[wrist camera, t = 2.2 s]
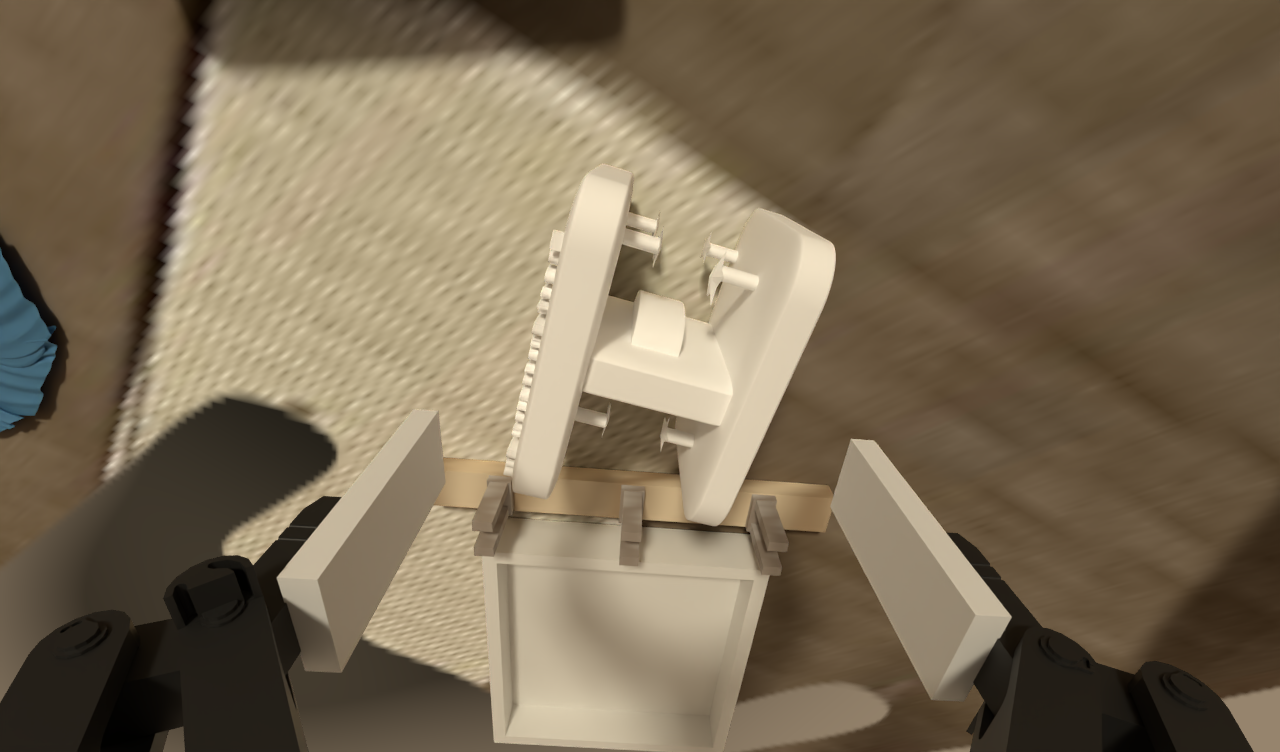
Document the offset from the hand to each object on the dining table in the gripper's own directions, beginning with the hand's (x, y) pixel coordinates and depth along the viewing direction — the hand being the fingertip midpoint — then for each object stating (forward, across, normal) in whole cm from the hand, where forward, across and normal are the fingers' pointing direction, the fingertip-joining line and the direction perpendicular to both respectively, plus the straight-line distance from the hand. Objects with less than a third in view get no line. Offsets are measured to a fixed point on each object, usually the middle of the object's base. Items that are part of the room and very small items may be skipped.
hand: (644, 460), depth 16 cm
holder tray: (+16, 0, +28) cm, 32 cm away
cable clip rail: (+16, 0, +14) cm, 21 cm away
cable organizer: (+16, 0, 0) cm, 16 cm away
